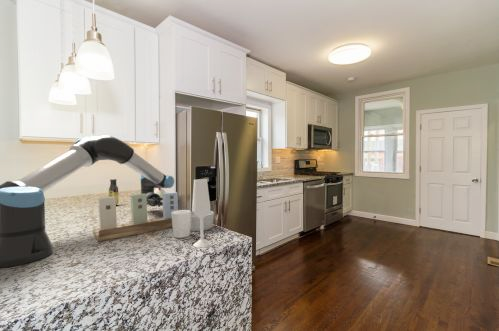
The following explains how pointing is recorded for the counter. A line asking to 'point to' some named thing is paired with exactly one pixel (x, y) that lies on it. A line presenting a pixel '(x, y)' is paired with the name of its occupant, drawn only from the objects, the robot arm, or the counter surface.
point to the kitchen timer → (159, 192)
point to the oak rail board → (132, 229)
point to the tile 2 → (138, 208)
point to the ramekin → (206, 221)
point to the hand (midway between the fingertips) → (166, 204)
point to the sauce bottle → (113, 190)
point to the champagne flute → (201, 207)
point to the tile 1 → (107, 213)
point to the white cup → (181, 223)
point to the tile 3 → (169, 204)
